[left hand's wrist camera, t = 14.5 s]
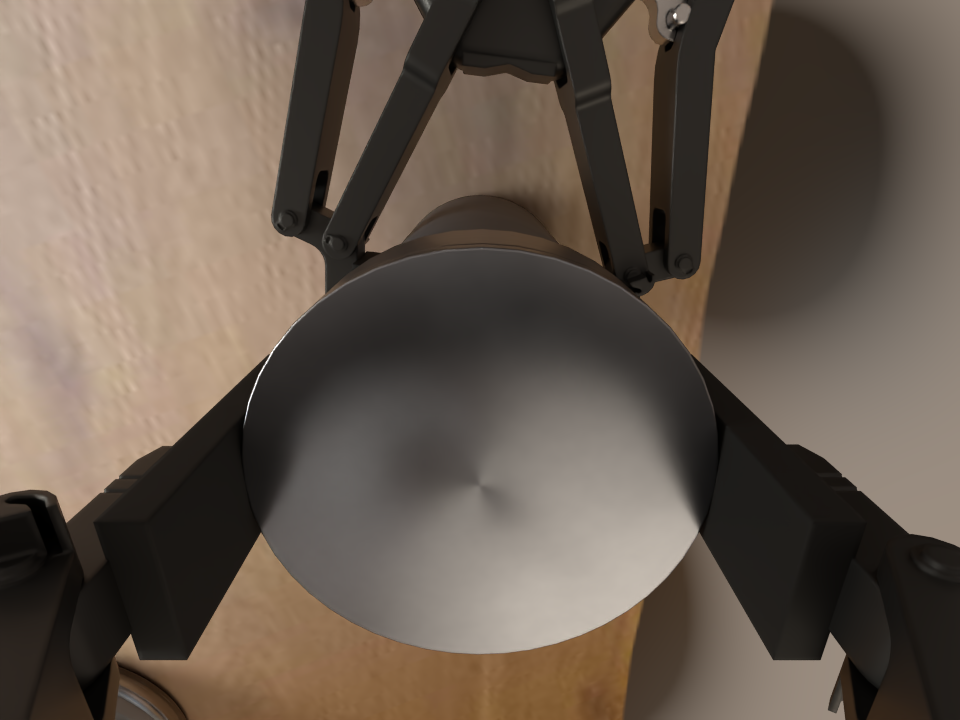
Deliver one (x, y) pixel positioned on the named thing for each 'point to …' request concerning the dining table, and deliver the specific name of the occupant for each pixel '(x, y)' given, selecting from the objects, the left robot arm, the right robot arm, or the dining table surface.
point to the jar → (479, 218)
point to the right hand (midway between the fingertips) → (468, 415)
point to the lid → (480, 445)
